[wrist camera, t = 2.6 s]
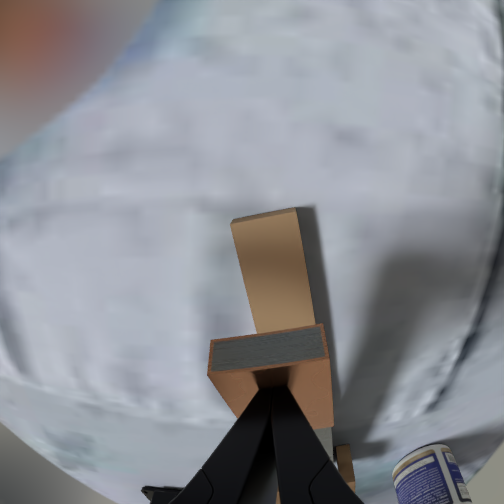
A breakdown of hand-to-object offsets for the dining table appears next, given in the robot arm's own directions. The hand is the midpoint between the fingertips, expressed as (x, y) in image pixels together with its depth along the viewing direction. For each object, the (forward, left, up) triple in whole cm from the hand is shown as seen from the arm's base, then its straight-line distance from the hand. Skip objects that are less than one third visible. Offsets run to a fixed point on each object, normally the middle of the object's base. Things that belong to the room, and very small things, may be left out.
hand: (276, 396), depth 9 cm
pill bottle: (-20, -10, -8) cm, 24 cm away
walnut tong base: (-6, 0, -8) cm, 10 cm away
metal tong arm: (-7, 0, -4) cm, 8 cm away
